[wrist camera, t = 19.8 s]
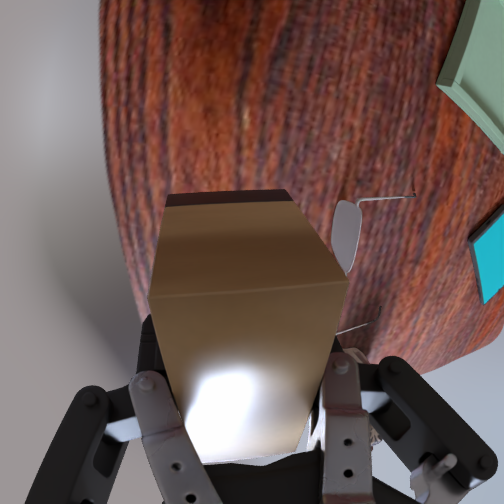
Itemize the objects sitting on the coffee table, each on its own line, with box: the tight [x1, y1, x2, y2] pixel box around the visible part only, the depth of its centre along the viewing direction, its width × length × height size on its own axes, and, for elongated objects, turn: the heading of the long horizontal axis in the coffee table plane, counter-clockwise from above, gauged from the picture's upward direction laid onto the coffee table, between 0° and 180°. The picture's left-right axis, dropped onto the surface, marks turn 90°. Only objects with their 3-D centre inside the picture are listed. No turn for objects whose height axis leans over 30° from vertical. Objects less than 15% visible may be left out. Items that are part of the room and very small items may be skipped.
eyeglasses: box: [331, 193, 416, 335], centre depth 26 cm, size 14×8×4 cm, turn 178°
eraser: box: [147, 189, 349, 463], centre depth 12 cm, size 10×4×6 cm, turn 179°
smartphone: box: [468, 205, 504, 305], centre depth 32 cm, size 7×1×15 cm
